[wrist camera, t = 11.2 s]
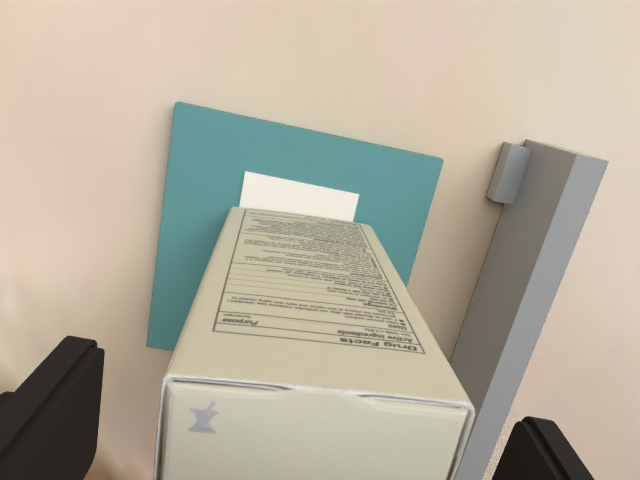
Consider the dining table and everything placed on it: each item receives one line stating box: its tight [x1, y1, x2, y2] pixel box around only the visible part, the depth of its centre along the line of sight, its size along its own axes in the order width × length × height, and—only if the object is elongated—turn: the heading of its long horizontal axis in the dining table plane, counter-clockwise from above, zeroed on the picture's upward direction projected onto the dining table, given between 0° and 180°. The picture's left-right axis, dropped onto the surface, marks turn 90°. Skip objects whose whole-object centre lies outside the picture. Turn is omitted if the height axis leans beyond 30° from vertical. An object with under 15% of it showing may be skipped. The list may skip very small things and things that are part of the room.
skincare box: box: [153, 207, 475, 480], centre depth 16 cm, size 6×4×12 cm
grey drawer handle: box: [450, 139, 609, 480], centre depth 21 cm, size 3×16×4 cm, turn 168°
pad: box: [146, 102, 444, 351], centre depth 22 cm, size 11×11×1 cm
